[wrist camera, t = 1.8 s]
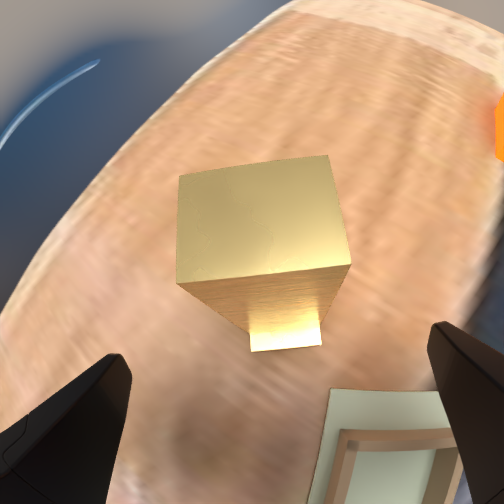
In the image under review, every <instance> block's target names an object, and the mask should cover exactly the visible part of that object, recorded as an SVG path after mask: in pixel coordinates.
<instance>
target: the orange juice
mask: <svg viewBox="0 0 504 504" xmlns="http://www.w3.org/2000/svg"><path fill="white" fill-rule="evenodd" d="M495 125H496V158H498V159H499V160H501V161H503V162H504V93H503V95H502V97H501V99H500V101H499V103H498V105H497V107H496V109H495Z"/></svg>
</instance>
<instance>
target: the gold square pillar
mask: <svg viewBox="0 0 504 504" xmlns="http://www.w3.org/2000/svg"><path fill="white" fill-rule="evenodd" d="M350 266H351V258H350V253H349V247H348V242H347V237H346V232H345V227H344V222H343V217H342V213H341V208H340V203H339V199H338V195H337V190H336V186H335V182H334V178H333V173H332V169H331V165H330V161H329V157H328V155H323V156H313V157H303V158H294V159H286V160H277V161H270V162H262V163H255V164H248V165H241V166H234V167H228V168H221V169H215V170H209V171H204V172H198V173H192V174H187V175H181V176H179V190H178V212H177V243H176V284H177V285H179V286H180V287H182V288H183V289H184V290H186V291H187V292H189V293H190V294H191V295H193V296H194V297H196V298H197V299H199V300H200V301H201V302H203V303H204V304H206V305H207V306H209V307H210V308H212V309H213V310H214V311H216V312H217V313H219V314H220V315H222V316H223V317H225V318H226V319H228V320H229V321H231V322H232V323H234V324H235V325H237V326H238V327H240V328H241V329H243V330H244V331H246V332H247V333H249V334H250V341H251V351H252V352H260V351H272V350H282V349H292V348H301V347H310V346H318V345H321V337H320V328H319V327H320V325H321V323H322V321H323V319H324V318H325V316H326V314H327V312H328V310H329V308H330V306H331V304H332V302H333V300H334V298H335V296H336V294H337V292H338V290H339V288H340V286H341V284H342V282H343V280H344V278H345V276H346V274H347V272H348V270H349V268H350Z"/></svg>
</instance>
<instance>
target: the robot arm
mask: <svg viewBox="0 0 504 504" xmlns="http://www.w3.org/2000/svg"><path fill="white" fill-rule="evenodd" d="M427 353H428V356H429V360H430V363H431V367H432V370H433V374H434V377H435V381H436V385H437V389H438V392H439V396H440V399H441V402H442V404H443V407H444V410H445V413H446V415H447V418H448V421H449V424H450V427H451V430H452V433H453V436H454V439H455V442H456V445H457V448H458V451H459V454H460V458H461V461H462V464H463V468H464V471H465V475H466V478H467V482H468V486H469V490H470V494H471V498H472V502H473V504H504V355H503V354H502V353H500V352H498V351H496V350H495V349H493V348H491V347H490V346H488V345H486V344H485V343H483V342H481V341H480V340H478V339H476V338H474V337H473V336H471V335H469V334H468V333H466V332H464V331H462V330H461V329H459V328H457V327H455V326H454V325H452V324H450V323H448V322H446V321H442V322H438V323H434V324H433V325H432V327H431V331H430V335H429V340H428V344H427ZM131 384H132V373H131V371H130V369H129V367H128V365H127V363H126V361H125V359H124V357H123V356H122V355H121V354H114V353H110V354H107V355H106V356H105V357H103V358H102V359H101V360H99V361H98V362H97V363H95V364H94V365H93V366H91V367H90V368H88V369H87V370H86V371H84V372H83V373H82V374H80V375H79V376H78V377H76V378H75V379H74V380H72V381H71V382H70V383H68V384H67V385H66V386H64V387H63V388H62V389H60V390H59V391H58V392H56V393H55V394H54V395H52V396H51V397H50V398H48V399H47V400H46V401H44V402H43V403H42V404H40V405H39V406H38V407H36V408H35V409H34V410H32V411H31V412H30V413H29V415H28V414H27V415H26V416H24V417H23V418H22V419H20V420H19V421H18V422H16V423H15V424H13V425H12V426H11V427H9V428H8V429H6V430H5V431H3V432H2V433H0V504H106V499H107V494H108V490H109V485H110V481H111V476H112V472H113V468H114V464H115V460H116V455H117V451H118V447H119V444H120V440H121V436H122V432H123V428H124V424H125V420H126V414H127V408H128V402H129V396H130V390H131Z"/></svg>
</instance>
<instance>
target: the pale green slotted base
mask: <svg viewBox="0 0 504 504" xmlns="http://www.w3.org/2000/svg"><path fill="white" fill-rule="evenodd" d="M462 470H463V464H462V461H461V458H460V454H459V451H458V448H457V445H456V442H455V439H454V436H453V433H452V430H451V427H450V424H449V421H448V418H447V415H446V413H445V410H444V407H443V404H442V402H441V399H440V396H439V392H438V391H373V390H354V389H339V388H330V394H329V401H328V407H327V413H326V419H325V424H324V430H323V435H322V440H321V445H320V450H319V455H318V460H317V464H316V469H315V474H314V478H313V482H312V487H311V491H310V495H309V499H308V503H307V504H452V503H453V500H454V497H455V494H456V491H457V487H458V484H459V481H460V477H461V474H462Z"/></svg>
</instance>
